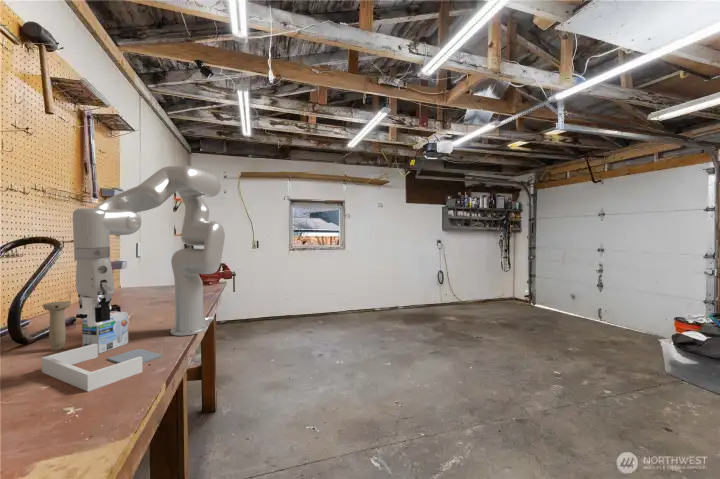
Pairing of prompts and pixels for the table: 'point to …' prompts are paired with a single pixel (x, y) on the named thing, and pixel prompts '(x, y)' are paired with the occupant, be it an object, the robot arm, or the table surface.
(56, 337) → the handle
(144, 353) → the mat
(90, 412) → the table surface
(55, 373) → the frame
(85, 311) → the pipe fitting
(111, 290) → the robot arm
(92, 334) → the light bulb box
